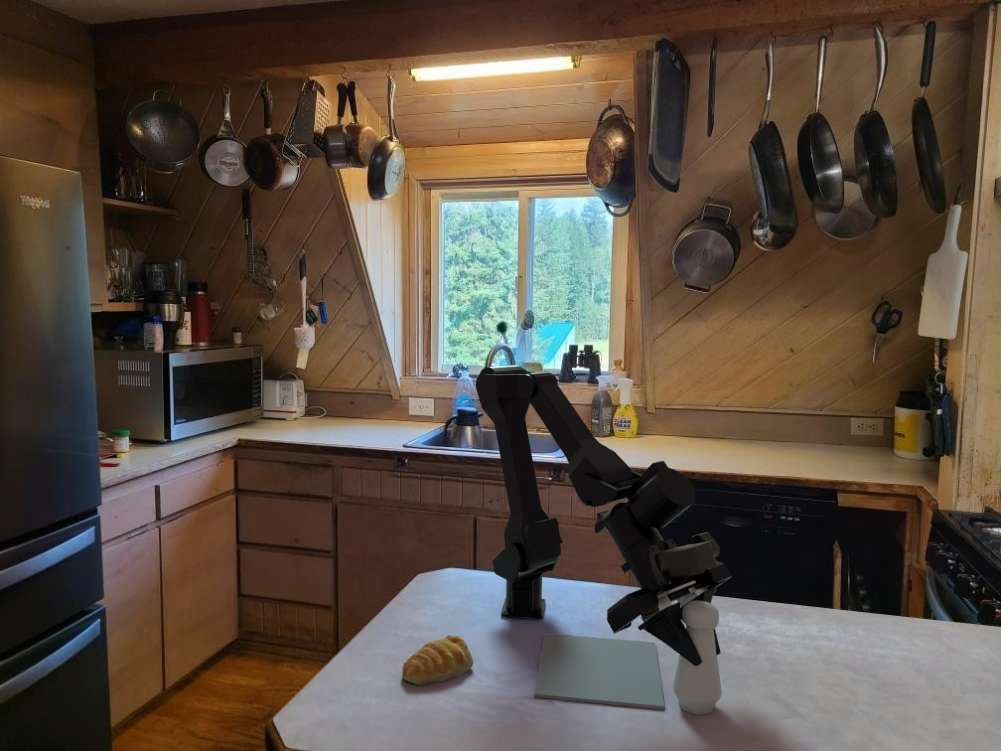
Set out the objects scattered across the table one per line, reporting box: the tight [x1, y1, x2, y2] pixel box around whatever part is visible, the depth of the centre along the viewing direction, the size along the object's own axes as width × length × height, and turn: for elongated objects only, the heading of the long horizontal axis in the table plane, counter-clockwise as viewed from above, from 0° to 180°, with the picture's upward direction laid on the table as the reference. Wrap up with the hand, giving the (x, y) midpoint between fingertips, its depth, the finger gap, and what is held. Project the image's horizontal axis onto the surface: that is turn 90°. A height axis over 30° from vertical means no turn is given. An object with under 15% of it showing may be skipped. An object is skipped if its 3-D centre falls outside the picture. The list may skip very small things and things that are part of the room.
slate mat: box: [533, 632, 665, 710], centre depth 96 cm, size 16×16×1 cm
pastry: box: [401, 634, 474, 686], centre depth 95 cm, size 9×7×4 cm
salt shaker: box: [672, 601, 723, 716], centre depth 87 cm, size 6×6×13 cm
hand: (708, 659), depth 86 cm, fingers closed on salt shaker, 3 cm apart
